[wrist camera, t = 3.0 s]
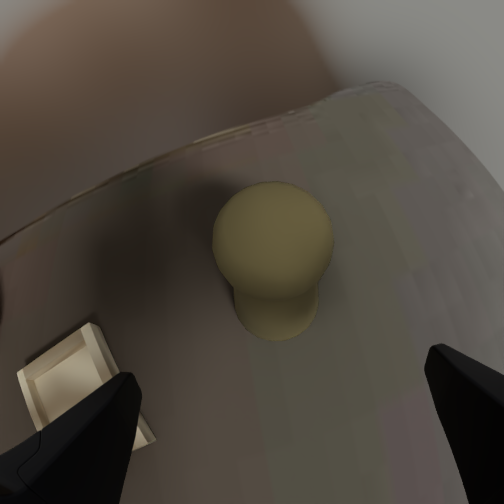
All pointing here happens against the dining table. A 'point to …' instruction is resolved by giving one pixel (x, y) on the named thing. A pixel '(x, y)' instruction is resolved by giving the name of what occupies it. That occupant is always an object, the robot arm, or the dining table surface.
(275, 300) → the olive green cylinder
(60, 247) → the dining table surface
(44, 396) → the holder
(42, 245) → the dining table surface
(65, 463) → the robot arm
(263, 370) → the dining table surface
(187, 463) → the dining table surface
